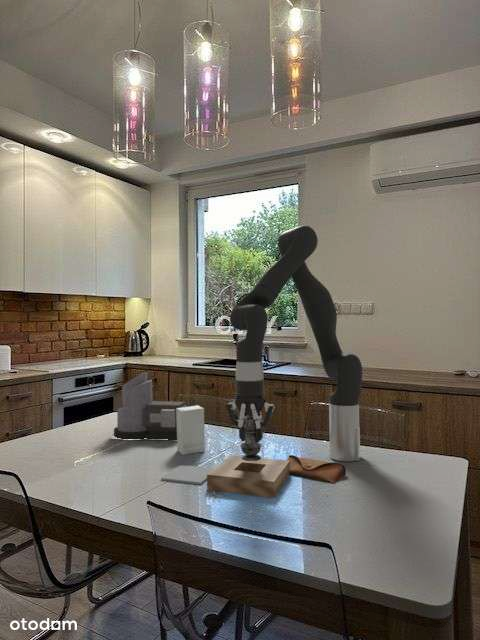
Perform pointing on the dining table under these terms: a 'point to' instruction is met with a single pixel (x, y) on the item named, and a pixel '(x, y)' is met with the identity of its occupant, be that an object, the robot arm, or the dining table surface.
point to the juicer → (145, 413)
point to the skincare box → (190, 429)
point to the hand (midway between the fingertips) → (250, 440)
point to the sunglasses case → (316, 469)
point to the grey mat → (188, 474)
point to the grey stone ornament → (250, 441)
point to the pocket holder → (249, 476)
